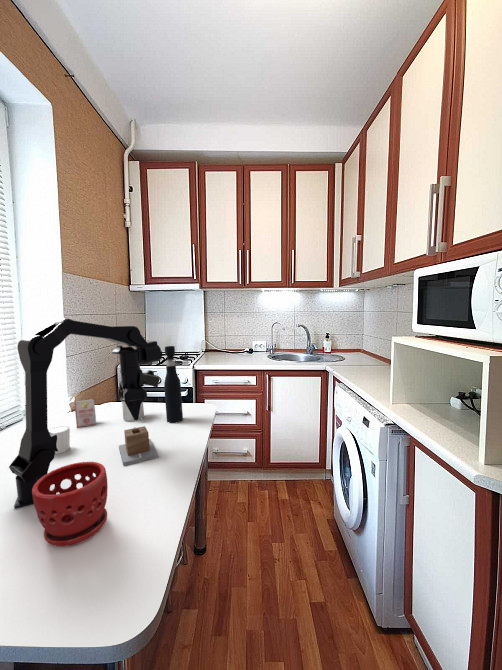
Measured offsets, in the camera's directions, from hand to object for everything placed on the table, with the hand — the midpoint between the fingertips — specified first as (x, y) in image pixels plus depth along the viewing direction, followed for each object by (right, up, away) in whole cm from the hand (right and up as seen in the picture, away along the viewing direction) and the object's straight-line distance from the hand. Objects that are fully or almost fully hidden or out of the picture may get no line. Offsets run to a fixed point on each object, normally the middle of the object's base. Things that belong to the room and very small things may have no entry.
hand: (134, 415), depth 104 cm
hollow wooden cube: (+1, -11, +1) cm, 11 cm away
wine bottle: (+6, -9, +30) cm, 32 cm away
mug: (-12, -10, +35) cm, 38 cm away
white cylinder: (-27, -13, +6) cm, 31 cm away
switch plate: (+1, -12, +1) cm, 12 cm away
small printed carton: (-30, -11, +30) cm, 44 cm away
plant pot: (+1, -15, -36) cm, 39 cm away
